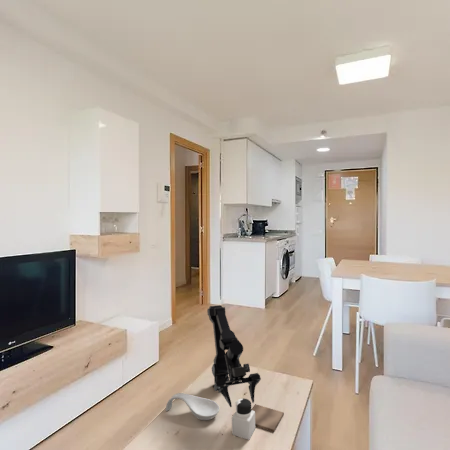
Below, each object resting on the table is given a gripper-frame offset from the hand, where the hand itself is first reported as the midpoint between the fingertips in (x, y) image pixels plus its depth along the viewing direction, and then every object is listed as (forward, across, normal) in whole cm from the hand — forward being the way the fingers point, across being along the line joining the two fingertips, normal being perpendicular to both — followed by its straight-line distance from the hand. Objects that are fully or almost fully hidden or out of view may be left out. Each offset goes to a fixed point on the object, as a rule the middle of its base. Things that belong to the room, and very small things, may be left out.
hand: (242, 404), depth 125 cm
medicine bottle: (+8, 0, +6) cm, 10 cm away
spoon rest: (-4, -17, +19) cm, 26 cm away
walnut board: (+4, +10, +10) cm, 15 cm away
